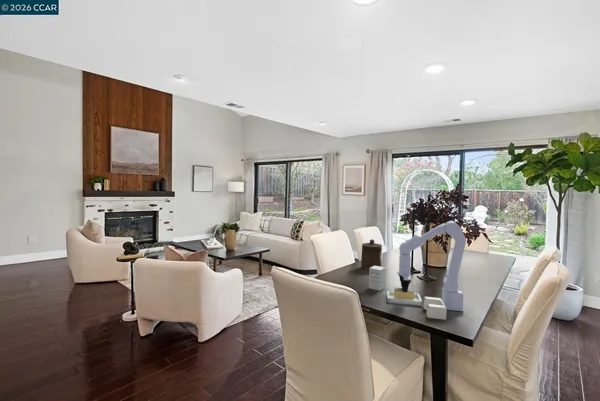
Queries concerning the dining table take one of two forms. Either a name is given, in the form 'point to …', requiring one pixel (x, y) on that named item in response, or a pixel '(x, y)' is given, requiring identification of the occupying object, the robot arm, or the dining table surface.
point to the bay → (435, 308)
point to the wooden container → (371, 255)
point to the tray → (415, 302)
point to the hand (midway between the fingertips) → (404, 289)
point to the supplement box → (377, 278)
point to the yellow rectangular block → (403, 294)
